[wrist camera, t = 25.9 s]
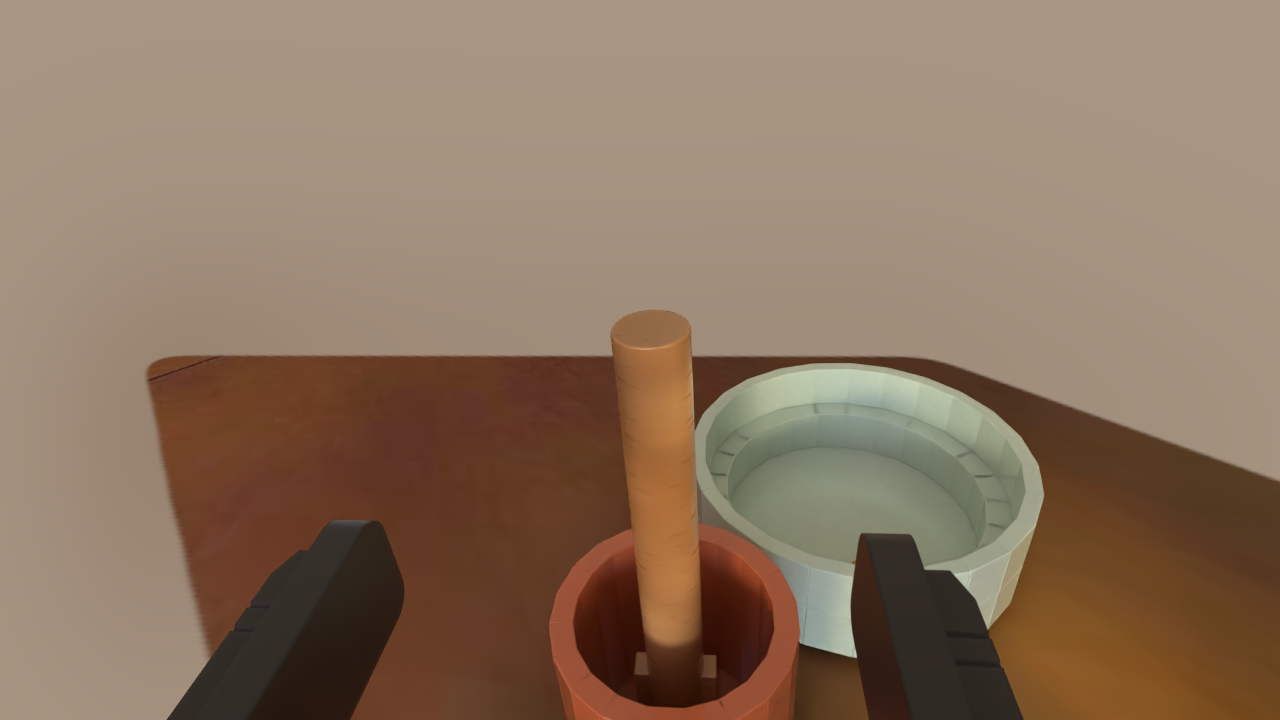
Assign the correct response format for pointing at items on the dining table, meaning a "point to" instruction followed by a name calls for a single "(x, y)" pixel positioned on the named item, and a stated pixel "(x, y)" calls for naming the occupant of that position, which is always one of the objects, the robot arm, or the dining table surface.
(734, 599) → the crock
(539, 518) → the dining table surface
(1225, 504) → the dining table surface
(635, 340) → the stirring stick
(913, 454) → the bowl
